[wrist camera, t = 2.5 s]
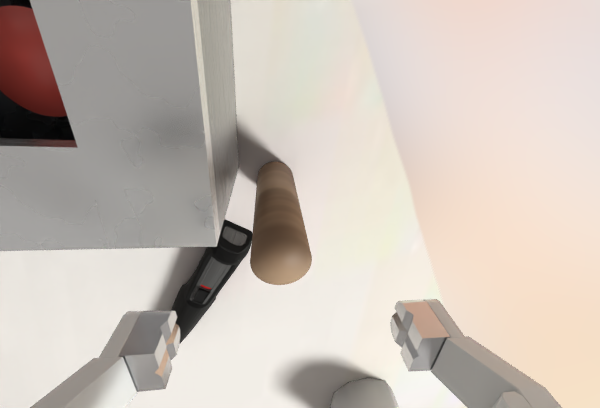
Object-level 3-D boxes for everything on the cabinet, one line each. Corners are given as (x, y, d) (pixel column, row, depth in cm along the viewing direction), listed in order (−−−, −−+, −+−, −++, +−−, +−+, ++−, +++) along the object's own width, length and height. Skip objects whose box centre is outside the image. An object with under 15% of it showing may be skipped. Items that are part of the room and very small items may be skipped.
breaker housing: (238, 166, 22) (216, 246, 12) (50, 163, 20) (-149, 253, 11) (227, -62, 16) (161, -270, 6) (-48, -94, 14) (-774, -461, 4)
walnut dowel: (292, 194, 24) (309, 283, 14) (257, 194, 23) (251, 285, 14) (293, 161, 22) (313, 235, 13) (257, 161, 22) (249, 236, 12)
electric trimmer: (158, 320, 30) (146, 347, 27) (219, 215, 24) (213, 235, 21) (191, 330, 31) (183, 356, 28) (256, 232, 25) (255, 253, 23)
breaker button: (133, 109, 15) (103, 118, 12) (52, 105, 14) (3, 114, 12) (114, 21, 13) (74, 10, 10) (21, 14, 12) (-46, 0, 10)
